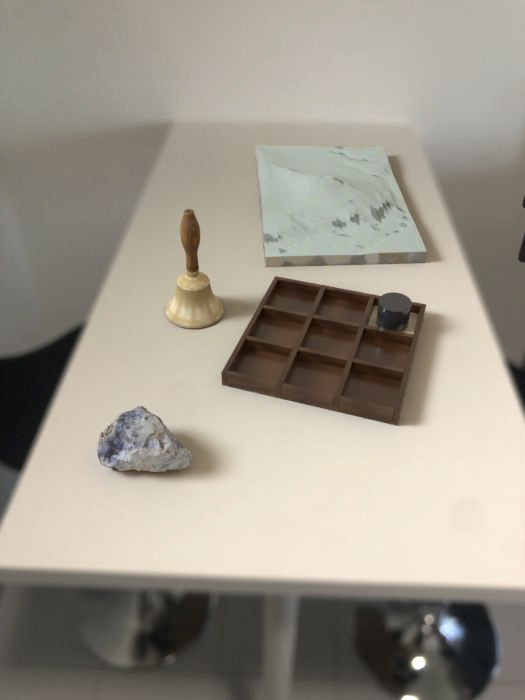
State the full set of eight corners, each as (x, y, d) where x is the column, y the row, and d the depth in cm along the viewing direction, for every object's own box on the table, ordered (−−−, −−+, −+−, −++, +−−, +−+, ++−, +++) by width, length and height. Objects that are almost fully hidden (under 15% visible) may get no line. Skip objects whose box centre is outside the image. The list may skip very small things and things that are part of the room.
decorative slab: (244, 159, 133) (244, 134, 130) (381, 156, 134) (384, 131, 131) (251, 267, 104) (251, 239, 101) (425, 262, 105) (430, 234, 102)
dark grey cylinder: (410, 316, 94) (414, 295, 91) (405, 335, 90) (409, 314, 88) (379, 310, 95) (382, 289, 92) (373, 329, 91) (375, 308, 89)
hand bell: (232, 299, 98) (229, 200, 88) (212, 334, 92) (206, 231, 82) (179, 289, 100) (170, 190, 89) (156, 322, 94) (143, 221, 83)
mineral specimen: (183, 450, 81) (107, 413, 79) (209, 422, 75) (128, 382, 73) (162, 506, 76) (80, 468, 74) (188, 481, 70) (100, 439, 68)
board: (424, 316, 95) (426, 304, 94) (397, 425, 79) (399, 413, 78) (274, 287, 100) (275, 275, 99) (221, 384, 84) (221, 372, 83)
